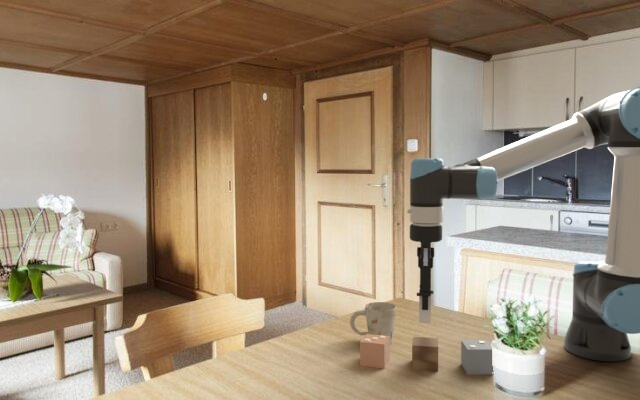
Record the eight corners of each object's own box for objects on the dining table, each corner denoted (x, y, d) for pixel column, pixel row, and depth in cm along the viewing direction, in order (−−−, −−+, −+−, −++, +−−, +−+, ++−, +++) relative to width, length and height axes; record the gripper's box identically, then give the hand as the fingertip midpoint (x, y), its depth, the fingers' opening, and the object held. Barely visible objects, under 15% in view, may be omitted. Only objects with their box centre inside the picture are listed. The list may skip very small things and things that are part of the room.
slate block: (485, 364, 129) (486, 339, 128) (493, 374, 123) (493, 348, 122) (461, 364, 129) (461, 339, 128) (467, 374, 123) (467, 348, 122)
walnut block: (437, 362, 130) (437, 338, 130) (438, 371, 125) (438, 347, 124) (412, 360, 132) (412, 336, 131) (412, 370, 126) (412, 345, 125)
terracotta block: (389, 359, 132) (389, 335, 132) (384, 368, 127) (384, 343, 126) (366, 356, 134) (366, 332, 134) (360, 365, 129) (360, 340, 128)
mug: (395, 348, 139) (395, 311, 138) (347, 345, 142) (347, 309, 141) (396, 337, 147) (397, 302, 146) (351, 335, 150) (351, 300, 149)
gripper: (410, 220, 132) (409, 312, 134) (408, 227, 119) (407, 329, 122) (441, 220, 131) (440, 314, 133) (443, 228, 118) (441, 331, 120)
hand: (424, 321), depth 127 cm, fingers closed
